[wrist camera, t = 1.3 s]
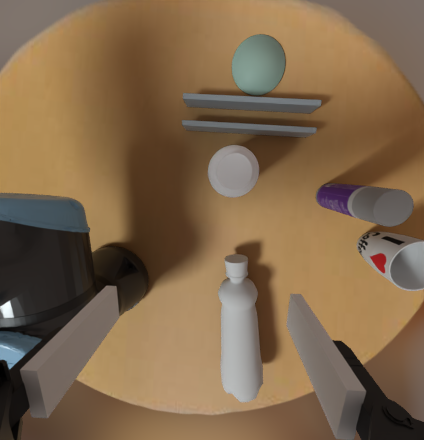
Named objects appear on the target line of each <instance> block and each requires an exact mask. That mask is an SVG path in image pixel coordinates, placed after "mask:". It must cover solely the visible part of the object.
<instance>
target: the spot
mask: <svg viewBox="0 0 424 440" xmlns="http://www.w3.org/2000/svg"><path fill="white" fill-rule="evenodd" d="M284 69H285V55H284V51H283V49H282V47H281V45H280V44H279V43H278V42H277V41H276V40H275V39H274V38H272V37H270V36H268V35H262V34H260V35H254V36H251V37H249V38H247V39H246V40H244V41H243V42H242V43H241V44H240V46H239V47H238V48H237V50H236V52H235V54H234V57H233V61H232V74H233V78H234V81H235V83H236V84H237V86H238V87H239V88H240V89H241V90H242V91H243V92H245V93H247V94H249V95H254V96H258V95H263V94H266V93H268V92H270V91H271V90H272V89H274V88H275V87H276V86H277V84H278V83H279V82H280V80H281V78H282V76H283V73H284Z"/></svg>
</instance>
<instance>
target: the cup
mask: <svg viewBox="0 0 424 440" xmlns="http://www.w3.org/2000/svg"><path fill="white" fill-rule="evenodd" d="M357 249H358V251H359V253H360V254H361V255H362V257H363V258H364V260H365V261H366V262H368V263H369V264H370V265H371V266H372V267H373V268H374V269H375V270H376V271H377V272H378V273H380V274H381V275H382V276H384V277H385V278H386V279H388V280H389V281H391V282H392V283H393V284H395V285H396V286H397V287H399V288H401V289H404V290H408V291H417V290H422V289H424V240H421V239H417V238H413V237H410V236H406V235H401V234H394V233H388V232H368V233H365V234H364V235H362V236H361V237H360V238H359V240H358V242H357Z"/></svg>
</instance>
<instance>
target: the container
mask: <svg viewBox="0 0 424 440" xmlns="http://www.w3.org/2000/svg"><path fill="white" fill-rule="evenodd" d="M316 200H317V202H318V204H319V205H320V206H322V207H325V208H328V209H331V210H334V211H337V212H340V213H343V214H346V215H349V216H352V217H355V218H359V219H362V220H366V221H369V222H373V223H376V224H379V225H383V226H388V227H391V226H396V225H399V224H401V223H403V222H404V221H406V220H407V219H408V218H409V216H410V215H411V213H412V211H413V199H412V197H411V196H410V195H409V194H408V193H407V192H405V191H403V190H397V189H388V188H380V187H371V186H360V185H348V184H335V183H327V184H324V185H322V186H321V187H320V188H319V189H318V191H317V193H316Z"/></svg>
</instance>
